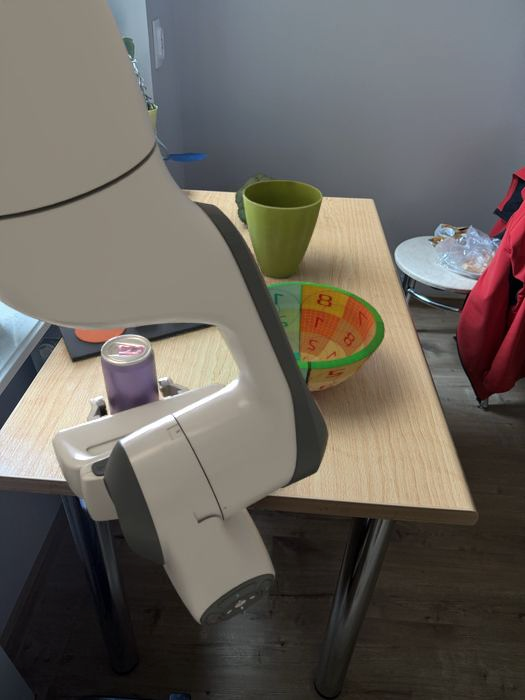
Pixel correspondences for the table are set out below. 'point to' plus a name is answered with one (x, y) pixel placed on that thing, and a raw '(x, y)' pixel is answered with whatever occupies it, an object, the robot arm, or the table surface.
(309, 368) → the bowl
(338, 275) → the table surface
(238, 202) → the vegetable
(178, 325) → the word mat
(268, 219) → the flower pot
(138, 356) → the beverage can
